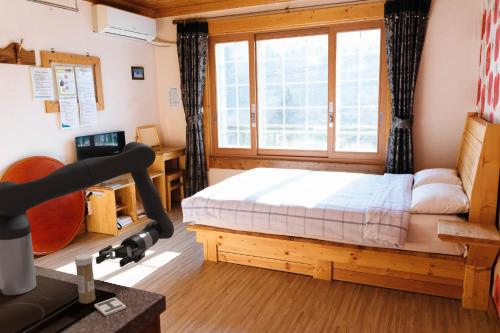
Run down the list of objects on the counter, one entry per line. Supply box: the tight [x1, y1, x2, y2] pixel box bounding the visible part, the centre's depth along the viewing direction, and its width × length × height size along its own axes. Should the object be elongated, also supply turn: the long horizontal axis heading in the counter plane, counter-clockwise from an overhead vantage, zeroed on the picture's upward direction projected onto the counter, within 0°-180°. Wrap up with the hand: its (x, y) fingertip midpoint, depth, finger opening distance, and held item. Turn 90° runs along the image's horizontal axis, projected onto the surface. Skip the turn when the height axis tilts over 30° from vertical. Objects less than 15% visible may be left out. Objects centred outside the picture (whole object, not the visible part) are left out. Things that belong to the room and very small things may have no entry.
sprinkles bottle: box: [74, 253, 96, 305], centre depth 114 cm, size 5×5×13 cm
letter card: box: [94, 296, 127, 317], centre depth 111 cm, size 7×6×1 cm
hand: (108, 262), depth 124 cm, fingers open, 8 cm apart
